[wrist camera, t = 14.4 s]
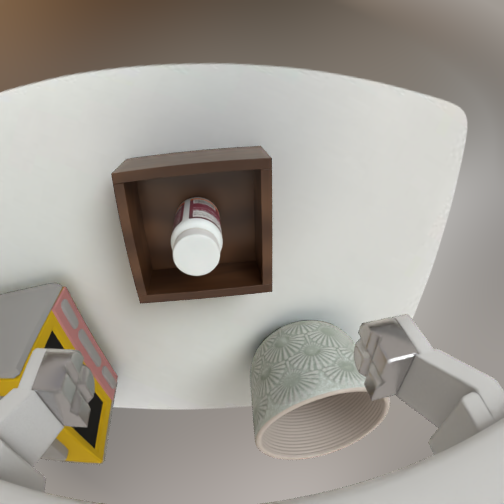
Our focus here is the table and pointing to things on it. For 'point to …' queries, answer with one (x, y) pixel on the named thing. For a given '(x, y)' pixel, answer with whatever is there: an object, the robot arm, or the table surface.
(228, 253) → the holder
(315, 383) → the planter
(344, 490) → the robot arm
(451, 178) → the table surface
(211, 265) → the pill bottle
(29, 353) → the alarm clock
